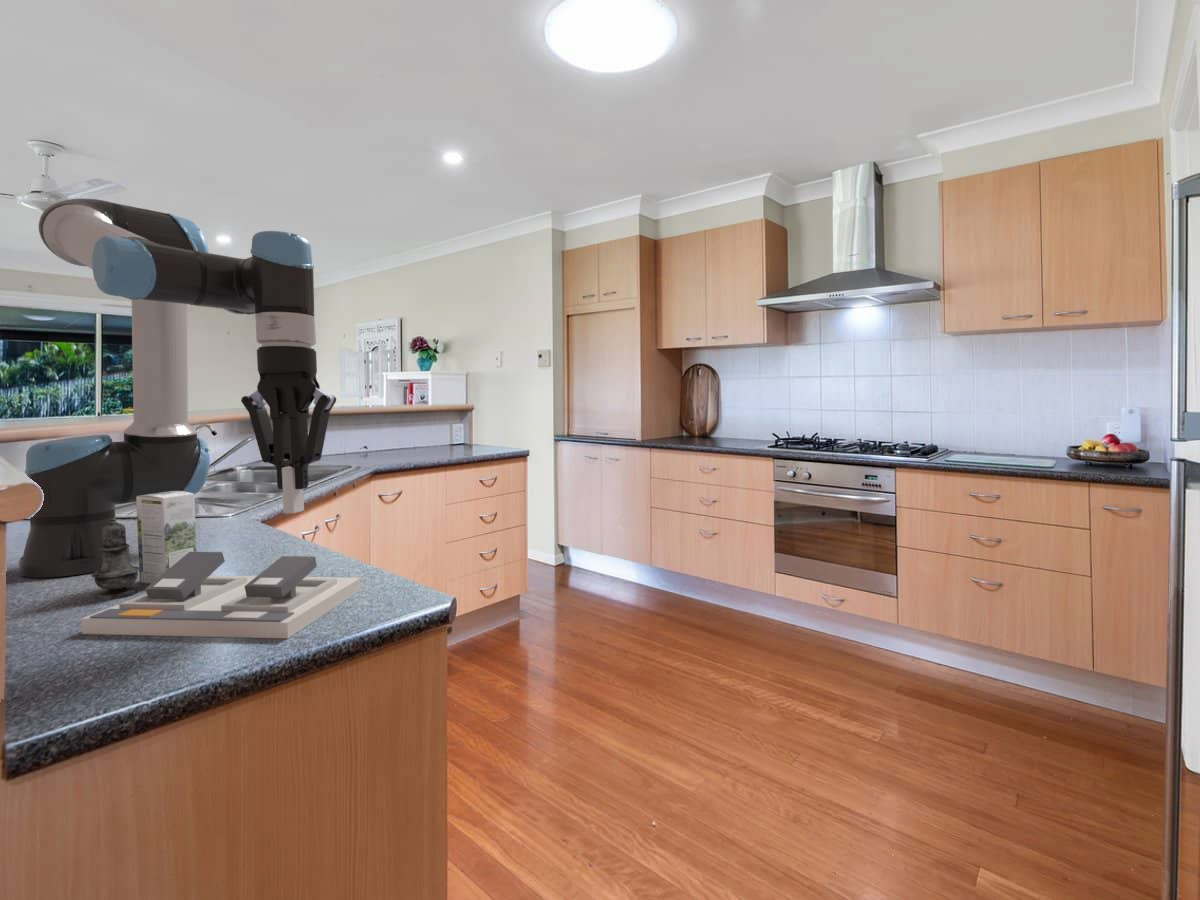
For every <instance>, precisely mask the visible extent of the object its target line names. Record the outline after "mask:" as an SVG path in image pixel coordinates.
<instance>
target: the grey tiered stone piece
mask: <svg viewBox="0 0 1200 900" xmlns="http://www.w3.org/2000/svg"><path fill="white" fill-rule="evenodd" d="M115 518H116V517H115ZM115 518H114V517H112V518H111V523H109V524H107V525H105V526H104V527H103V528H102V541H103V547H101V548H100V550H102V552H103V564H102V568H101V569H100V570H99V571H96V572H92V573H91V577H92V578H94V582H95V584H96V586H97V587H99V588H100V589H102V590H104V591H101V592H99V593H98V594H97V595H96V596H95V600H98V599H100V601H109V600H110V601H111V600H118V599H123V598H129V597H131V596H134V595H136V594H138V593H140V590H139V589H138V588H136V587H132V585H133V584H134V583H135V582H136V581H137V579H138V576H139V574H138V572H139V570H140V568H139V566H133V565H132V564H130V561H128V554H127V548H128V547H130V544H127V536H126V535H127V533H126V527H125V525H124V524H122V523H121V522H117V519H115ZM115 520H116V522H115Z"/></svg>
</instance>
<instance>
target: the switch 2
mask: <svg viewBox="0 0 1200 900" xmlns="http://www.w3.org/2000/svg"><path fill="white" fill-rule="evenodd" d="M316 568H317V559H316V556H308V555H307V556H300V555H299V556H298V555H297V556H295V555H293V556H291V555H289V556H288V555H287V556H285V555H282V556H280V557H279V558H278V559H277V560H275V561H274V562H273V563H272V564H271V565H269V566H268V567H267V568H266V569H264V570H263V571H261V572H260V573H259V574H258V575H256V576H257V577H255V578H254V579H253V580H252V581H250V582H249V583H248V584H247V585H245V591H246V596H247V597H280V598H283V597H284V596H285V595H286V594H287V593H288V592H289V591H290V590H292V589H293V588H294V587H295V586H296V585H297V584H298V583H299V582H300V581H301V580H303V579H304V578H305V577H308V575H309V574H310V573H311V572H312V571H314V570H315V569H316Z"/></svg>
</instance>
